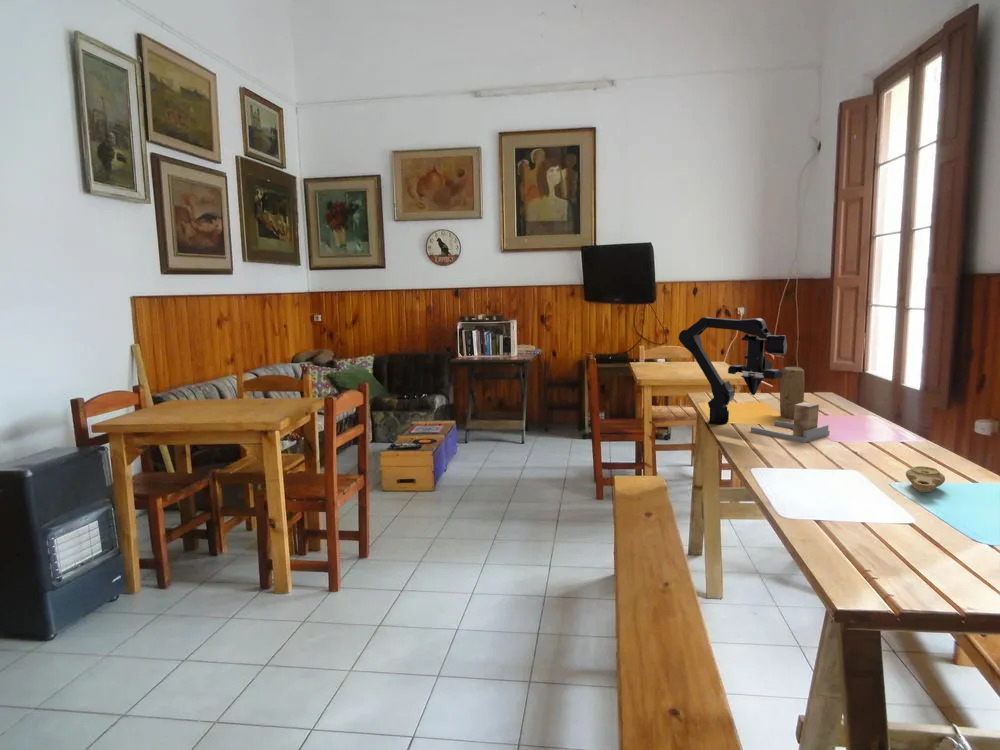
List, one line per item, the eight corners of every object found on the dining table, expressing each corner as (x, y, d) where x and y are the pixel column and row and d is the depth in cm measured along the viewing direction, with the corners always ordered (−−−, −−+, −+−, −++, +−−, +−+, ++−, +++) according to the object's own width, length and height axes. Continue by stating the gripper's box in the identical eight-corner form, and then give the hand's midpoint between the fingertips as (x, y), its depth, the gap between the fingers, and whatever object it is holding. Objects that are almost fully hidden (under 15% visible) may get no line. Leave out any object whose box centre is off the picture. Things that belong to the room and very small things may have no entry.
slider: (793, 436, 214) (794, 404, 212) (802, 433, 217) (804, 402, 216) (807, 439, 210) (809, 406, 208) (816, 436, 213) (818, 404, 212)
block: (803, 421, 241) (806, 369, 237) (782, 420, 242) (785, 369, 239) (797, 415, 251) (800, 365, 248) (777, 414, 253) (779, 365, 250)
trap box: (750, 435, 222) (751, 421, 221) (776, 428, 231) (776, 415, 230) (804, 447, 206) (804, 432, 205) (829, 439, 215) (830, 424, 214)
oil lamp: (917, 499, 159) (918, 480, 158) (889, 480, 173) (891, 463, 172) (962, 500, 157) (964, 481, 156) (931, 481, 171) (933, 463, 170)
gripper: (791, 353, 227) (789, 395, 229) (745, 348, 242) (743, 388, 244) (774, 356, 221) (772, 399, 223) (727, 351, 236) (726, 392, 238)
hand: (753, 394), depth 232 cm, fingers closed
